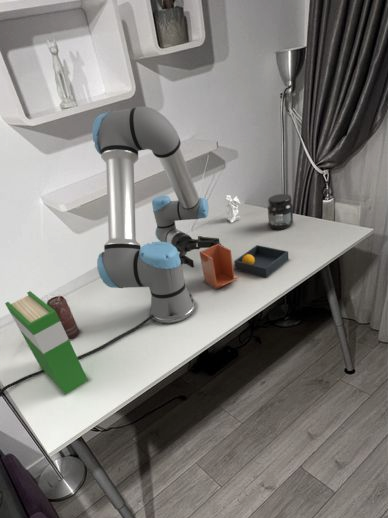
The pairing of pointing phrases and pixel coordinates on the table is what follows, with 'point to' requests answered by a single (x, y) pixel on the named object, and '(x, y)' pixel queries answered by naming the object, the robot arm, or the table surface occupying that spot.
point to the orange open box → (217, 266)
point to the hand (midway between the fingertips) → (208, 256)
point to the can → (64, 316)
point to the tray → (262, 261)
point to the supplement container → (280, 211)
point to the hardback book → (48, 341)
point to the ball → (248, 259)
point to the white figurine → (232, 208)
